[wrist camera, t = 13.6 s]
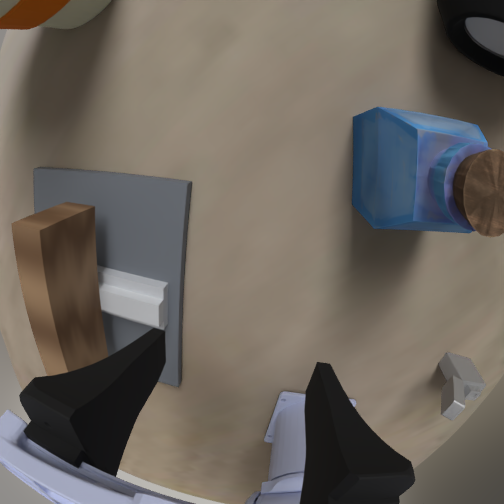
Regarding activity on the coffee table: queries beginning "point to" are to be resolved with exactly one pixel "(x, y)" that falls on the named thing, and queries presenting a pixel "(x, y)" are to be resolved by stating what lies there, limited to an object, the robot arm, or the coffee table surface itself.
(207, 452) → the coffee table surface
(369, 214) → the perfume bottle
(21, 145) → the coffee table surface
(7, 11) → the reusable coffee cup
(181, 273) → the ridge stand
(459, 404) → the grey angular piece
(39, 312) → the walnut bar
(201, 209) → the coffee table surface
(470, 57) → the portable speaker
